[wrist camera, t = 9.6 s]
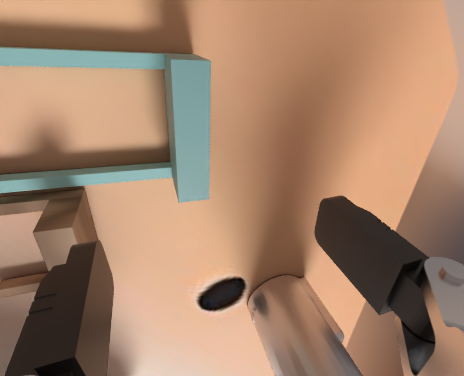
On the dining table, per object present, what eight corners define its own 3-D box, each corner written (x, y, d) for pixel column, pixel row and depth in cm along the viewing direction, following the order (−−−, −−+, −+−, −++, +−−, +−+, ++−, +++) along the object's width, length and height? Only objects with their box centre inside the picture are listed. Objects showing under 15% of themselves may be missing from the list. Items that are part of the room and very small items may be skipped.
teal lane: (194, 54, 21) (210, 60, 16) (196, 169, 26) (209, 199, 21) (-208, 38, 14) (-366, 41, 10) (-102, 194, 19) (-174, 244, 15)
